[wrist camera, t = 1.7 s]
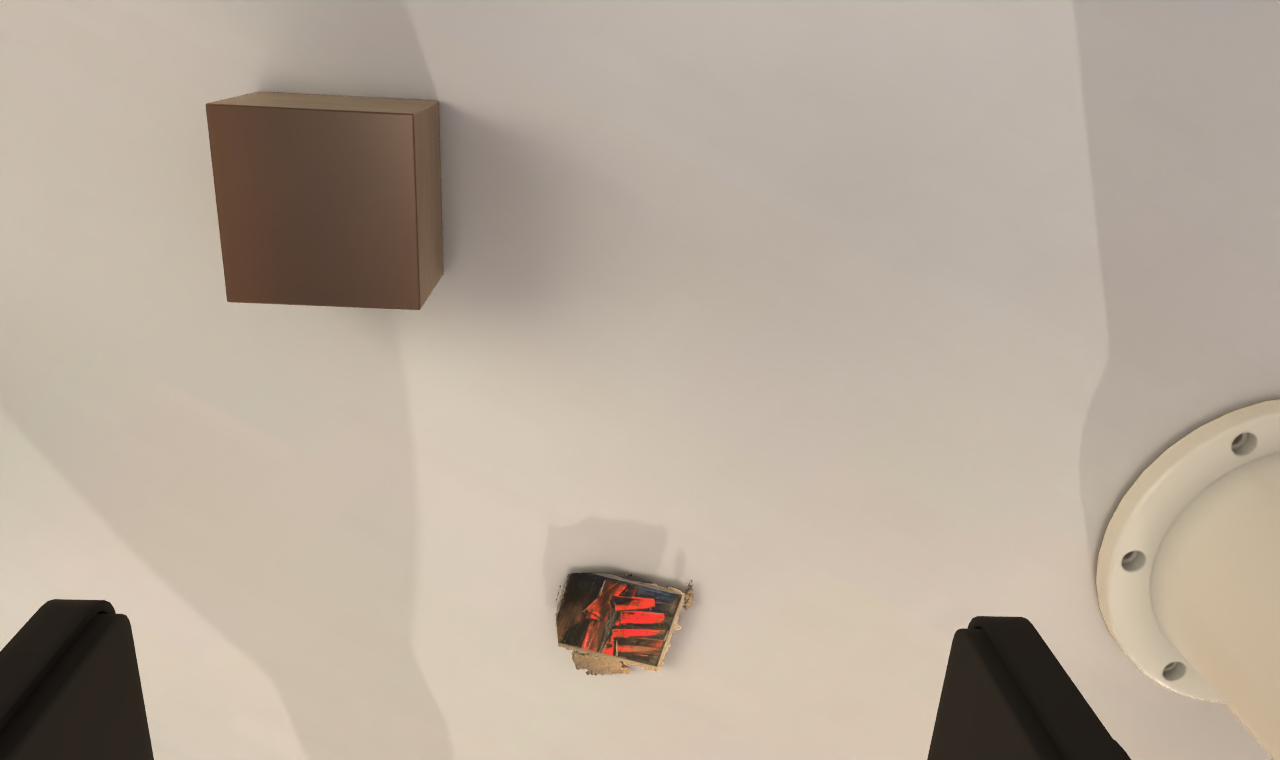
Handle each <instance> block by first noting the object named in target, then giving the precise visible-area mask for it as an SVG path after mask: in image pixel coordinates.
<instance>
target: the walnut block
mask: <svg viewBox="0 0 1280 760" xmlns="http://www.w3.org/2000/svg"><path fill="white" fill-rule="evenodd" d="M206 112H207V121H208V130H209V139H210V148H211V157H212V167H213V176H214V185H215V194H216V203H217V212H218V221H219V230H220V239H221V248H222V257H223V266H224V276H225V285H226V294H227V301H228V302H238V303H263V304H287V305H311V306H336V307H360V308H384V309H409V310H420V309H421V307H422V306H423V304H424V303H425V301H426V300H427V298H428V297H429V295H430V294H431V292H432V291H433V289H434V287H435V286H436V284H437V283H438V281H439V280H440V278H441V277H442V275H443V238H442V198H441V157H440V117H439V101H436V100H416V99H396V98H376V97H356V96H335V95H315V94H295V93H275V92H255V93H251V94H246V95H242V96H238V97H233V98H229V99H225V100H220V101H216V102H212V103H207V104H206Z"/></svg>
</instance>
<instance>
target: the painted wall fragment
mask: <svg viewBox="0 0 1280 760" xmlns="http://www.w3.org/2000/svg"><path fill="white" fill-rule="evenodd" d="M594 572H595V571H594ZM631 575H632V574H631ZM631 575H630V576H631ZM625 576H629V575H627V573H625ZM567 577H568V578H567V581H566V583H565V584H564V585H563V586H564V588H563V590H562V596H561V597H560V598H561V600H560V602H559V603H558V609H557V613H556V622H557V623H556V624H557V633H558V646H559V647H563V648H566V649H571V650H574V651H573V652H572V655H573V657H572V659H573V661H574V663H575V666H576V669H580V668H582V669H585V668H586V669H588V671H587V672H586V674H587V675H589V674H590V673H591V675H594V674H595V675H597V674H601V675H604V674H611V675H612V674H622V673H623V674H625V673H627V674H628V673H629V670H628V667H625V668H622V667H621V666H622V663H621V661H623V664H625V665H627V666H629V665H631V666H633V665H638V666H640V667H643V668H644V669H645V670H648V671H649V670H655V671H656V672H659V668H660V667H661V665H663V664H664V663H663V662H662V660H663V659H664V658H665V653H666V652H667V651H668V648H669V647H670V646H671V645H670V643H669V642H670V639H671V637H672V635H673V633H675V632H676V630H680V629H682V626H679V625H677V622H678V618H679V613H680V610H681V609H682V605H683V604H684V603H685V604H686V605H685V606H683V607H684V608H685V610H686V611H687V610H688V608H689V607H691V606H692V605H693V594H692V587H691V589H690V586H692V585H689V584H690V583H689V584H688V590H686V592H685V593H682V592H681V590H676V588H675V587H668V586H667V588H665V587H659V586H658V585H657V584H656V583H655V584H650V582H649V583H642V582H639V581H631V580H628V579H623V578H621V577H618V576H616V575H611V574H604V573H571V574H569V575H568V576H567ZM691 581H692V580H691ZM691 583H692V582H691ZM560 587H561V586H560ZM689 590H690V591H689ZM558 591H559V590H558ZM558 594H559V593H558ZM556 600H557V599H556ZM575 651H578V652H579V653H583V655H584V654H585V653H586V654H585V655H584V656H582V655H580V654H579V653H578V655H576V653H575ZM587 653H589V654H587ZM595 655H597V656H599V657H597V656H595Z"/></svg>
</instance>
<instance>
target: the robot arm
mask: <svg viewBox="0 0 1280 760" xmlns="http://www.w3.org/2000/svg"><path fill="white" fill-rule="evenodd" d="M1096 586H1097V594H1098V601H1099V608H1100V610H1101V613H1102V616H1103V618H1104V621H1105V623H1106V626H1107V628H1108V631H1109V632H1110V634H1111V635H1112V636H1113V638H1114V639H1115V640H1116V642H1117V643H1118V645H1119V646H1120V647H1121V649H1122V650H1123V652H1124V653H1125V654H1126V655H1127V657H1128V658H1129V659H1130V660H1131V661H1132V662H1133V663H1134V664H1135V665H1136V666H1137V667H1138V668H1139V670H1140V671H1141V672H1142V673H1143V674H1145V675H1146V676H1148V677H1149V678H1150V679H1152V680H1153V681H1155V682H1156V683H1157V684H1159V685H1161V686H1163V687H1164V688H1167V689H1169V690H1172V691H1174V692H1177V693H1179V694H1182V695H1184V696H1187V697H1189V698H1195V699H1200V700H1205V701H1210V702H1215V703H1225V705H1226V706H1227V707H1228V708H1229V709H1230V710H1231V711H1232V713H1233V714H1234V715H1235V716H1236V717H1237V718H1238V719H1239V720H1240V722H1241V723H1242V724H1243V725H1244V726H1245V727H1246V728H1247V730H1248V731H1249V732H1250V733H1251V734H1252V735H1253V736H1254V738H1255V739H1256V740H1257V741H1258V742H1259V743H1260V744H1261V746H1262V747H1263V748H1264V749H1265V750H1266V751H1267V752H1268V754H1269V755H1270V756H1271V757H1272V758H1273V759H1274V760H1280V399H1277V400H1270V401H1264V402H1261V403H1258V404H1255V405H1251V406H1248V407H1245V408H1242V409H1238V410H1235V411H1232V412H1230V413H1227V414H1225V415H1223V416H1221V417H1219V418H1217V419H1215V420H1213V421H1211V422H1209V423H1207V424H1205V425H1203V426H1201V427H1198V428H1197V429H1196V430H1194V431H1193V432H1191V433H1190V434H1188V435H1187V436H1185V437H1184V438H1182V439H1181V440H1179V441H1178V442H1176V443H1175V444H1174V445H1172V446H1171V447H1169V448H1168V449H1167V450H1166V451H1165V452H1164V453H1163V454H1161V455H1160V456H1159V457H1158V458H1157V459H1156V460H1155V461H1154V462H1153V463H1152V464H1151V465H1150V466H1149V467H1148V468H1146V469H1145V470H1144V471H1143V472H1142V474H1141V475H1140V476H1139V477H1138V479H1137V480H1136V481H1135V483H1134V484H1133V485H1132V486H1131V488H1130V489H1129V490H1128V492H1127V493H1126V494H1125V495H1124V497H1123V498H1122V500H1121V502H1120V503H1119V505H1118V507H1117V509H1116V511H1115V513H1114V515H1113V517H1112V518H1111V520H1110V522H1109V524H1108V526H1107V529H1106V532H1105V535H1104V538H1103V542H1102V545H1101V548H1100V551H1099V555H1098V565H1097V575H1096ZM0 760H154V758H153V752H152V746H151V740H150V735H149V729H148V723H147V717H146V711H145V705H144V700H143V694H142V688H141V682H140V676H139V670H138V664H137V659H136V653H135V647H134V641H133V635H132V629H131V625H130V621H129V619H128V618H127V616H126V615H123V614H116V613H115V610H114V608H113V606H112V605H111V603H110V602H107V601H105V600H60V599H54V600H50V601H47V602H46V603H45V604H44V605H43V606H41V607H40V608H39V610H38V611H37V612H36V613H35V614H34V615H33V616H32V617H31V618H30V620H29V621H28V622H27V623H26V624H25V625H24V626H23V627H22V628H21V629H20V631H19V632H18V633H17V634H16V635H15V636H14V637H13V638H12V639H11V641H10V642H9V643H8V644H7V645H6V646H5V647H4V648H3V649H2V650H1V652H0ZM927 760H1131V759H1130V757H1129V756H1128V755H1127V753H1126V752H1125V751H1124V749H1123V748H1122V747H1121V746H1120V745H1119V744H1118V743H1117V742H1116V741H1115V740H1114V739H1112V737H1111V736H1110V734H1109V733H1108V731H1107V730H1106V729H1105V727H1104V726H1103V724H1102V723H1101V721H1100V720H1099V719H1098V717H1097V716H1096V714H1095V713H1094V712H1093V710H1092V709H1091V707H1090V706H1089V704H1088V703H1087V702H1086V700H1085V699H1084V697H1083V696H1082V694H1081V693H1080V692H1079V690H1078V689H1077V687H1076V686H1075V684H1074V683H1073V682H1072V680H1071V679H1070V677H1069V676H1068V675H1067V673H1066V672H1065V670H1064V669H1063V667H1062V666H1061V665H1060V663H1059V662H1058V660H1057V659H1056V657H1055V656H1054V655H1053V653H1052V652H1051V650H1050V649H1049V647H1048V646H1047V645H1046V643H1045V642H1044V640H1043V639H1042V638H1041V636H1040V635H1039V633H1038V632H1037V630H1036V629H1035V628H1034V626H1033V625H1032V624H1031V623H1030V621H1029V620H1028V619H1026V618H1023V617H990V616H977V617H975V618H973V619H972V620H971V622H970V623H969V626H968V629H959V630H957V631H956V633H955V635H954V638H953V642H952V646H951V651H950V656H949V660H948V665H947V670H946V675H945V679H944V684H943V689H942V693H941V698H940V703H939V707H938V712H937V717H936V722H935V726H934V731H933V736H932V740H931V745H930V750H929V754H928V759H927Z"/></svg>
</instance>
